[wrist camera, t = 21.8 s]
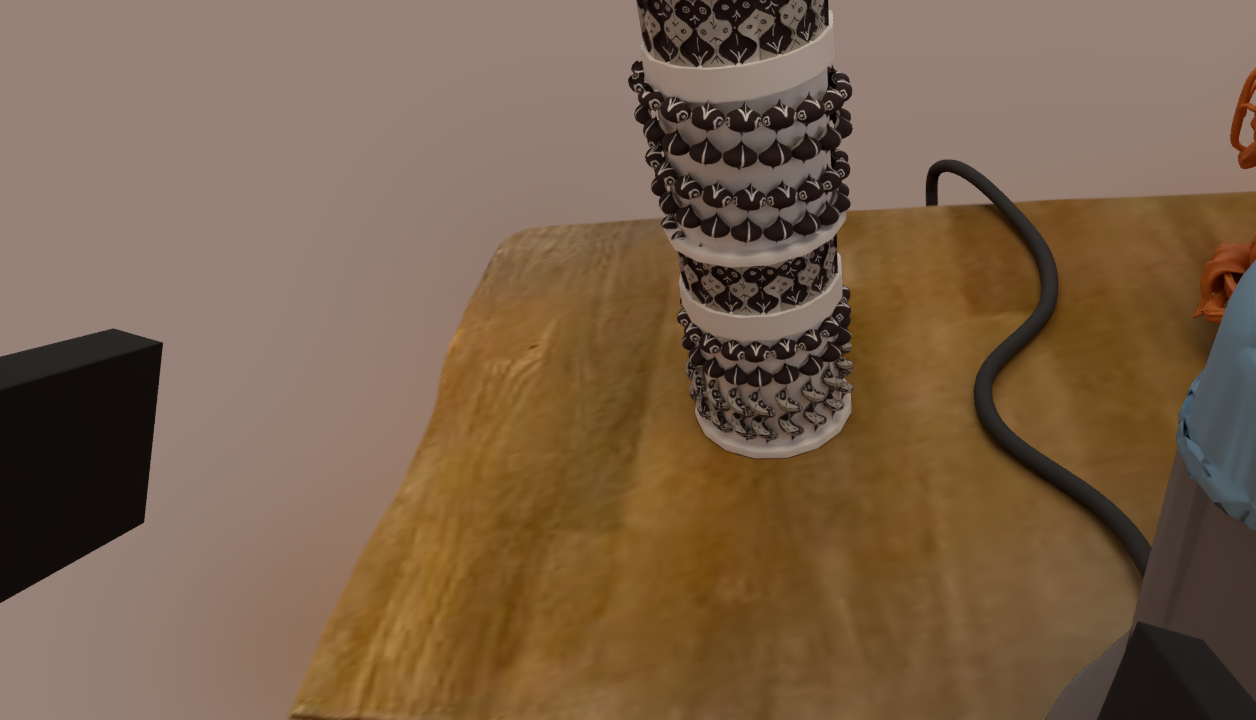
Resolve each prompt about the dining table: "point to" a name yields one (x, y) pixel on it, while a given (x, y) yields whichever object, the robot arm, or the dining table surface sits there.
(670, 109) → the decorative candle
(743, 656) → the dining table surface
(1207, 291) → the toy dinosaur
